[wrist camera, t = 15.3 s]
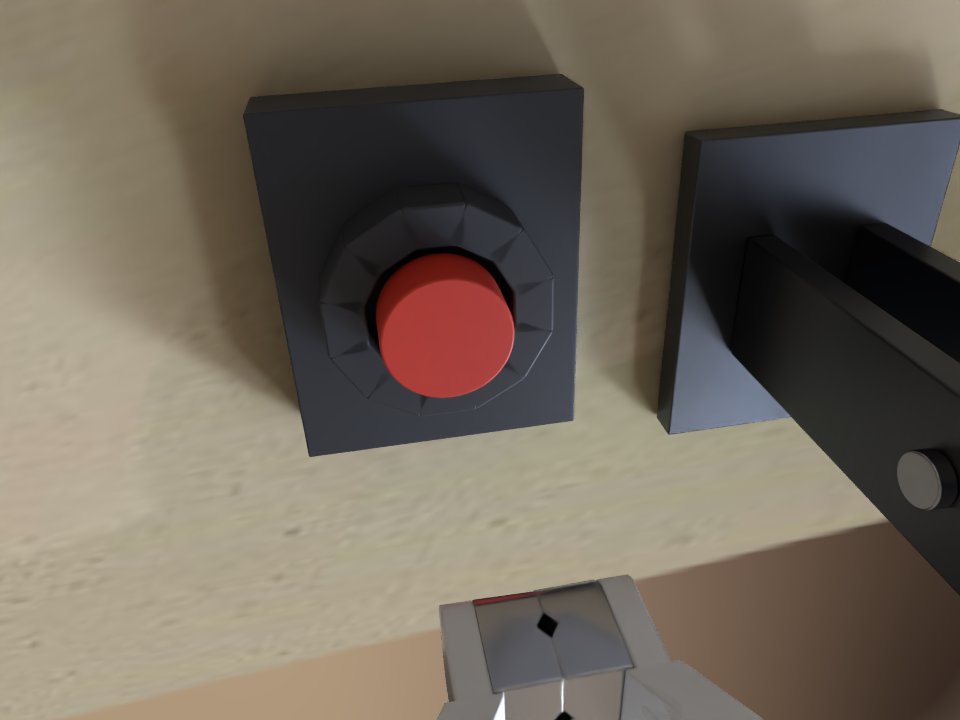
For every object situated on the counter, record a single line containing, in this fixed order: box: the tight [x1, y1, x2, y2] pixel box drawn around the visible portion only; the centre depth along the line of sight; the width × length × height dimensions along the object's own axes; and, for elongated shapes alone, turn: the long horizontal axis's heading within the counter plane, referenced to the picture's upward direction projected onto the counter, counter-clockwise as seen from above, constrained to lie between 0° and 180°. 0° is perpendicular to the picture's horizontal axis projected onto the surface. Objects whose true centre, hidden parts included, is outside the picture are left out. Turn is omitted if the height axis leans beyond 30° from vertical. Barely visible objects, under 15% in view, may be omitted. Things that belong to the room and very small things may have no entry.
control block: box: [243, 74, 584, 457], centre depth 23 cm, size 11×9×4 cm
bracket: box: [657, 109, 960, 595], centre depth 22 cm, size 11×9×13 cm
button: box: [376, 253, 515, 398], centre depth 21 cm, size 4×4×2 cm
